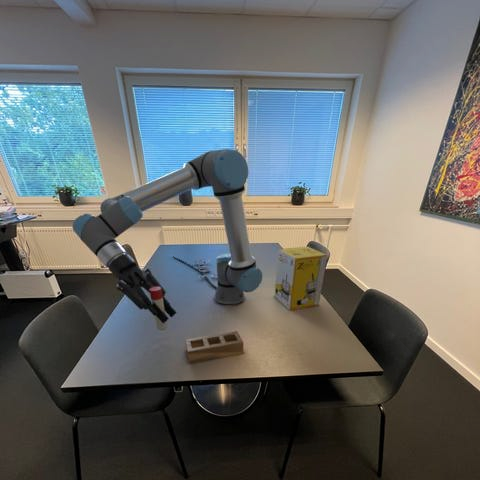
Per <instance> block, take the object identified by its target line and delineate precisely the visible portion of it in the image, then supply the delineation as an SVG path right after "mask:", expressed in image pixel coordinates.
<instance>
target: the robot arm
mask: <svg viewBox="0 0 480 480" xmlns="http://www.w3.org/2000/svg"><path fill="white" fill-rule="evenodd" d="M248 178H249V164H248V162H247V159H246V158H245V157H244V155H243V154H242V153H241V152H239V150H236V149H232V148H221V149H217V150H209V151H206V152H204V153H202V154H200V155H199V156H197V157H195V158H193V159H191V160H189V161H187V162H185V163H183V167H182V168H179V169H176V170H175V171H172V172H170V173H167V174H165V175H163V176H161V177H158V178H156V179H153V180H151V181H149V182H146V183H144V184H141V185H140V186H137V187H135V188H133V189H130V190H128V191H125V192H123V193H121V194H119V195H117V196H114V197H110V198H109V197H108V198H105V199H104V200H102V202H101V203H100V206H99V207H100V209H99V210H100V214H98V215H96V216H95V215H93V214H92V213H90V212H89V213H83V214H80V215H79V216H77V217H76V218H75V219H74V221H73V222H72V225H71V227H72V231H73V232H74V233H75V234H76V235H77V237H78V238H79V239H80V241H81V242H82V243H83V244H84V245H85V246H86V247H87V248H88V249H89V250H90V252H92V253H93V254H94V255H95V256H96V257H97V259H98V260H99V261H100V262H101V263H102V264H103V266H105V267H106V268H108V271H109V272H110V273H111V274H112V275H113V276H114V277H115V278H117V279H118V283H117V284H116V285H115V289H116V290H118V291H119V292H121V293H122V294H124V295H125V296H126V297H127V298H128V300H130V301H131V302H132V304H134V305H135V306H136V307H137V308H138V309H139V310H146V311H147V310H148V311H149V312H150V313H151V315H153V316H154V317H155V316H157V317H158V318H159V319H160V321H161V322H162V323H163V324H164V323H165V322H166V321H167V322H168V320H169V318H173V317H174V316H175V315H176V314H177V311H176V310H175V308H173V306H171V303H170V302H169V301H168V300H167V298H166V297H165V296H166V293H167V291H166V290H165V288H164V287H163V286H162V285H161V284H160V282H159V281H158V280H157V278H155V276H154V275H153V273H152V271H151V269H150V268H147V269H146V270H144V269H141V268H140V267H138V265H137V262H136V261H135V260H134V259H133V257H132V256H130V254H129V253H127V251H126V250H125V248H123V247H122V245H120V243H119V242H118V241H117V240H116V238H118V237H119V236H121V235H123V233H124V232H126V231H127V230H129V229H130V228H131V227H133V226H134V225H136V224H137V223H138V222H140V220H141V219H142V218H143V216H144V214H143V212H145V211H147V210H150V209H152V208H153V207H156V206H159V205H161V204H163V203H165V202H167V201H168V200H171V199H174V198H175V197H178V196H180V195H182V194H184V193H186V192H188V191H190V190H194V191H198V190H200V189H203V188H208V187H212V193H213V197H214V198H216V199H217V200H218V201H219V206H220V211H221V216H222V220H223V225H224V230H225V236H226V240H227V244H228V249H229V253H223V254H219V255H217V257H216V263H215V264H216V275H217V278H216V279H217V286H216V285H214V284H213V283H212V282H211V280H210V279H209V278H208V277H207V276H206V275H205V274H204V273H203V272H202V273H203V274H204V275H205V277H204V278H205V279H206V281H207V282H208V283H209V285H211V287H213V288H214V289H215V292H214V301H215V302H216V303H217V304H220V305H224V306H234V305H239V304H241V303H243V302H244V300H245V293H252V292H254V291H255V290H257V289H258V288H259V287H260V285H261V284H262V281H263V272H262V270H261V269H260V268H259V267H257V262H256V258H255V256H253V255H252V253H251V246H250V240H249V234H248V229H247V228H248V227H247V220H246V215H245V214H246V213H245V208H244V203H243V201H244V200H243V194H244V192H245V191H246V188H245V187H246V186H245V185H246V183H247V179H248ZM182 260H183V259H181V260H179V261H180V262H182V263H184V264H186V265H188V266H189V267H191V268H193V269H195V270H196V271H197V272H199V273H200V274H201V275H203V274H202V273H201V272H200V271H199V270H200V269H198V268H197V267H196V268H197V269H198V270H197V269H196V268H194V267H195V266H194V265H192V264H190V263H189V264H190V265H189V264H187V263H188V262H187V261H185V260H183V261H182ZM184 261H185V262H184ZM186 262H187V263H186ZM191 265H192V266H191ZM193 266H194V267H193ZM204 275H203V276H204ZM151 287H161V290H162V296H163V303H164V309H165V314H166V315H165V314H164V312H163V311H162V310H161V309H160V308H159V307H158V306H157V305H156V304H155V303H153V304H152V300H151V299H150V298H149V296H148V295H147V293H146V292H148V293H149V294H150V291H149V289H150V288H151ZM143 289H144V290H145V291H146V292H145V291H144V290H143ZM167 315H168V316H169V317H168V316H167Z"/></svg>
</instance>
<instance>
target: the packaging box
mask: <svg viewBox="0 0 480 480" xmlns="http://www.w3.org/2000/svg"><path fill="white" fill-rule="evenodd" d="M327 259H328V255H327V254H326V253H324V252H321V251H319V250H317V249H315V248H312V247H311V246H299V247H289V248H279V249H278V250H277V259H276V260H277V261H276V271H275V272H276V274H275V285H274V286H275V287H274V298H276V300H278V301H279V302H280V303H281V304H282V306H285V308H286V309H288V310H289V311H292V310H298V309H305V308H311V307H314V306H319V304H320V300H321V293H322V287H323V283H324V276H325V270H326V265H327Z"/></svg>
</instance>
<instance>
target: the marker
mask: <svg viewBox="0 0 480 480" xmlns="http://www.w3.org/2000/svg"><path fill="white" fill-rule="evenodd" d="M149 291H150V293H149V294H150V295H149V296H150V301H151V303H152V304H153V303H155V304H156V305H157V306H158V307H159V308H160V309H161V310H162V311H163V312H164V314H165V315H166V316H167V313H166V311H165V309H164V303H163V296H162V290H161V287H151V288H150V289H149ZM154 320H155V325H156V329H157V330H158V331H164V330H167V329H168V320H167V321H166V322H165V323H164V324H163V323H162V322H161V321H160V319H159V318H158V317H157V316H154Z"/></svg>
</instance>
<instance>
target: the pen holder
mask: <svg viewBox="0 0 480 480" xmlns="http://www.w3.org/2000/svg"><path fill="white" fill-rule="evenodd" d="M184 342H185V349H186V354H187V358H188V363H189V364H193V363H198V362H204V361H209V360H214V359H220V358H224V357H231V356H235V355H241V354H244V340H243V338H242V336H241V335H240V333H239V331H237V330H235V331H230V332H223V333H218V334H217V333H216V334H211V335H205V336H199V337H192V338H187V339H184Z"/></svg>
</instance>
